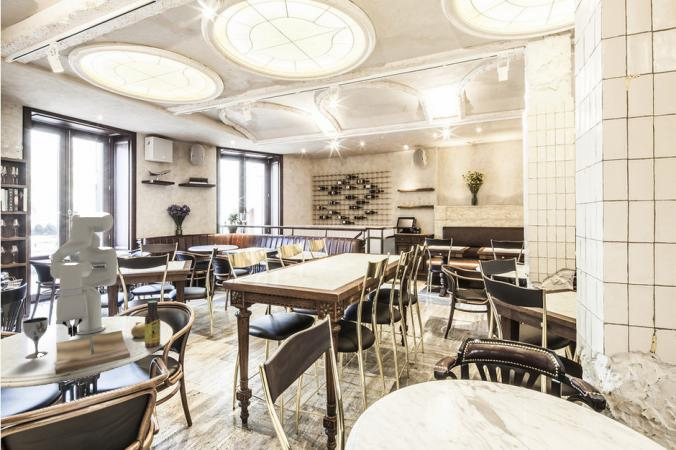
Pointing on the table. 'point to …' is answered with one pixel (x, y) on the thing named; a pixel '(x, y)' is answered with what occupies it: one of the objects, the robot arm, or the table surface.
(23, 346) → the table surface
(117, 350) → the walnut board
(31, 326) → the wine glass
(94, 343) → the oak plank
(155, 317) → the sauce bottle
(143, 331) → the onion
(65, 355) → the oak plank
